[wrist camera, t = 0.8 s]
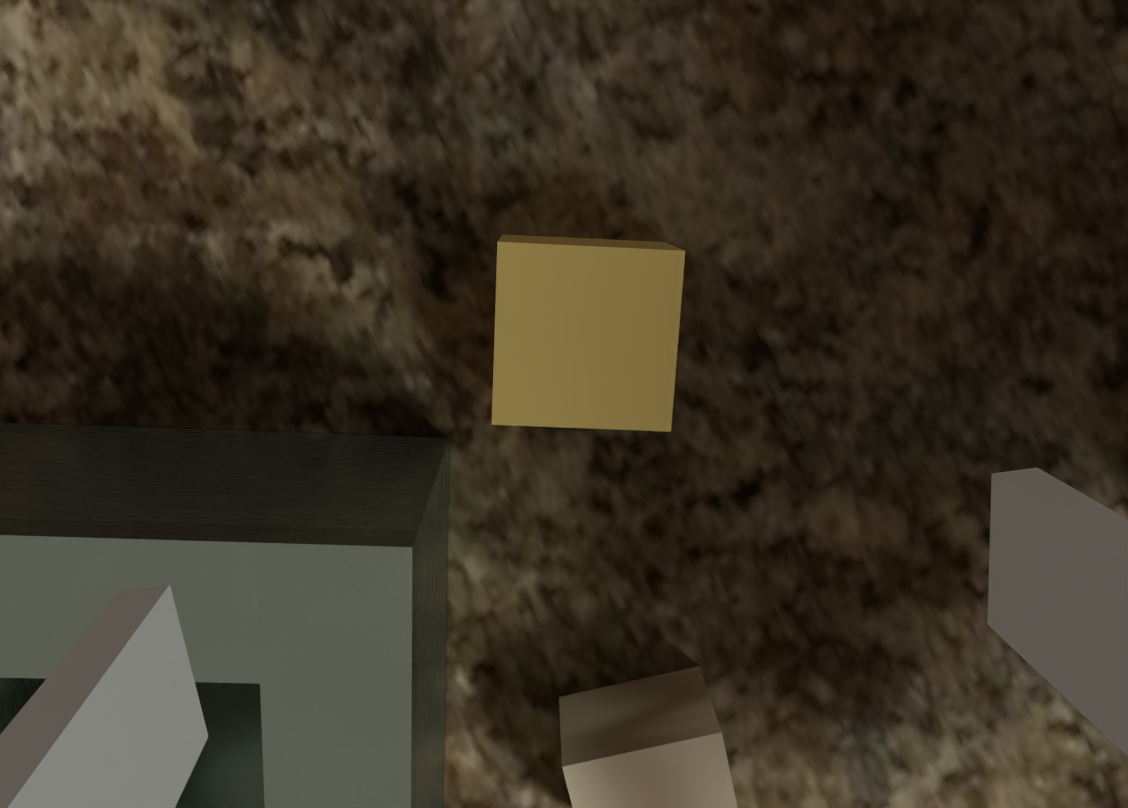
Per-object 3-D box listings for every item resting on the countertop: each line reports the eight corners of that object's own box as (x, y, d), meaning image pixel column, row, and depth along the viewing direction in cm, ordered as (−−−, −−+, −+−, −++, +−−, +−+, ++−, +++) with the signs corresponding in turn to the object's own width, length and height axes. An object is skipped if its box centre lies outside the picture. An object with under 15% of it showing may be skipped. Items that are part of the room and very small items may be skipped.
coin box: (449, 437, 29) (412, 547, 20) (443, 813, 32) (409, 1047, 23) (3, 422, 28) (-234, 527, 20) (44, 806, 32) (-144, 1043, 23)
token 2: (698, 664, 31) (721, 732, 27) (724, 785, 32) (749, 867, 29) (558, 694, 31) (562, 766, 28) (589, 814, 33) (596, 899, 29)
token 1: (664, 241, 28) (685, 250, 24) (652, 399, 29) (671, 431, 25) (502, 234, 28) (497, 241, 24) (497, 392, 29) (491, 424, 25)
